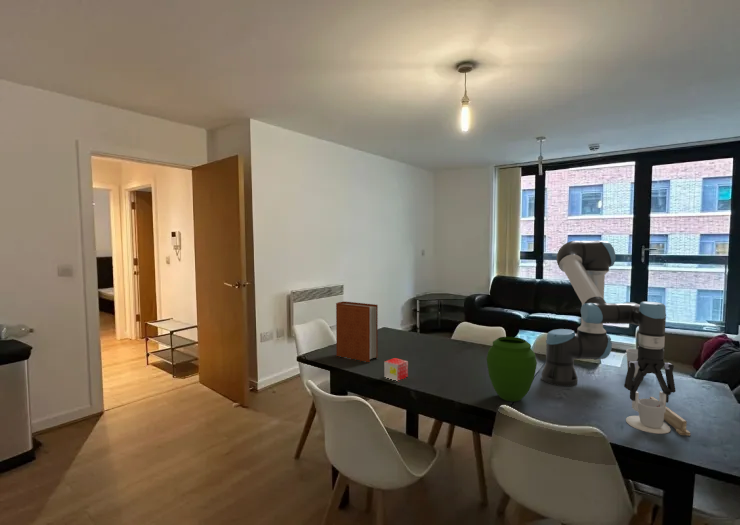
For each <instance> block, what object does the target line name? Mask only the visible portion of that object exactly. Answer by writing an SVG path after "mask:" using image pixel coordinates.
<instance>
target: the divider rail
mask: <svg viewBox="0 0 740 525" xmlns="http://www.w3.org/2000/svg"><path fill="white" fill-rule="evenodd" d="M649 399H654V400H658V399H657V398H655V397H654V396H649ZM664 421H665V423H666V424H668V425H670V427H672V428H673V429H675V432H676V433H677V434H679V435H680V436H691V431H689V429H687V423H688V422H687V420H686V419H684V418H683V417H681V416H680V415H679V414H677V413H676V412H675V411H673V409H672V410H671V409H670V408H669V407H667V406H666V412H665V413H664Z"/></svg>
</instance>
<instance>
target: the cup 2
mask: <svg viewBox="0 0 740 525" xmlns="http://www.w3.org/2000/svg"><path fill="white" fill-rule="evenodd" d="M664 412H665V404H664V403H662V402H660V401H659V400H658V399H657V400H654V399H650V398H640V399H639V400H638V411H637V413H638V416H639V418H640V422H641V423H642V424H643V425H644V426H647V427H650V428H660V427H662V426H663V422H664V421H665V420H664ZM664 423H665V422H664Z"/></svg>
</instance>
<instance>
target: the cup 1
mask: <svg viewBox="0 0 740 525" xmlns="http://www.w3.org/2000/svg"><path fill="white" fill-rule="evenodd" d="M637 359H638V348H627V349H626V364H627V365H626V366H627V369H628V361H631V362H633V361H637ZM638 369H639V366H638V365H637V366H636V368H635V373H634V378H635V376H636V375H637V373H638Z"/></svg>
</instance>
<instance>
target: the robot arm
mask: <svg viewBox="0 0 740 525" xmlns="http://www.w3.org/2000/svg"><path fill="white" fill-rule="evenodd" d="M615 262H616V251H615V248H614V247H613V245H612V244H611V242H609V241H606V240H598V239H597V240H571V241H568V242H566V243H565V244H562V245H561V246H560V248H559V249H558V251H557V254H556V263H557V266H558V268H559V270H561V272H564V273H565V275H566V277H567V279H568V281H569V283H570V284H571V286H572V288H573V289H574V292H575V294H576V296H577V297H578V299H579V300H580V302H581V307H580V314H581V318H580V319H581V323H580V326H578V327H577V330H576V331H577V332H575V330H572V329H570V328H569V329H568V328H565V329H564V328H558V329H552V330H550V331H548V332H547V334H546V339H545V344H546V345H545V347H546V348H545V350H546V351H545V364H544V367H543V369H542V372H541V380H542V381H543V382H545V383H548V384H550V385H554V386H558V387H559V386H560V387H574V386H577V385H578V376H577V371H576V369H575V362H574V361H575V360H595V361H596V360H605V359H606V358H608V357H609V356H610V355H611V351H612V349H613V348H612V347H613V342H612V341H611V340H612V337H611V336H610V335H609V334H607V330H606V329H605V328H604V324H611V325H612V324H615V325H617V324H618V325H621V324H622V325H634V326H635V325H636V326H638V339H637V343H638V346H637V349H638V359H637V361H633V362H631V361H628V368H627V372H626V376H625V380H624V384H623V387H624V388H625V389H626V390H627V391H629V398H630V400H631V401H632V402H631V408H632V410H634V411H635V412H638V400H639V397H640V394H639V392H638V389H639V387H640V385H641V383H642V382H643V380H644V378H645V377H647V374H654V375H655V377H656V379H657V382H658V384H659V386H660V389H661V391H659V394H658V395H659V398H658V399H659V400H658V401H660V402H662V403H664V404H665V412H666V407H667V405H666V404H667V403H669V399H670V397H669V396H670V395H671V394H672V393H675V392H676V385H675V378H674V367H675V366H674V364H672V363H670V362H665V360H664V359H665V349H664V348H665V340H666V338H665V337H666V336H665V335H666V323H667V322H666V321H667V320H666V319H667V312H666V311H667V310H666V308H667V306H666V305H665V304H664V303H662V302H657V301H641V302H640V303H636V302H633V301H632V302H630V301H626V302H623V303H615V302H614V303H611V302H610V303H609V302H606V300H605V279H606V274H607V273H609V272H610V268H611V267H613V266H614V265H615ZM637 365H638V366H639V369H638V373H637V375H636V376H635V377H634V373H635V368H636V366H637ZM663 368H664V372H665V378H664V375H663V372H662V369H663ZM665 379H666V380H665ZM665 412H664V413H665Z"/></svg>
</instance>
